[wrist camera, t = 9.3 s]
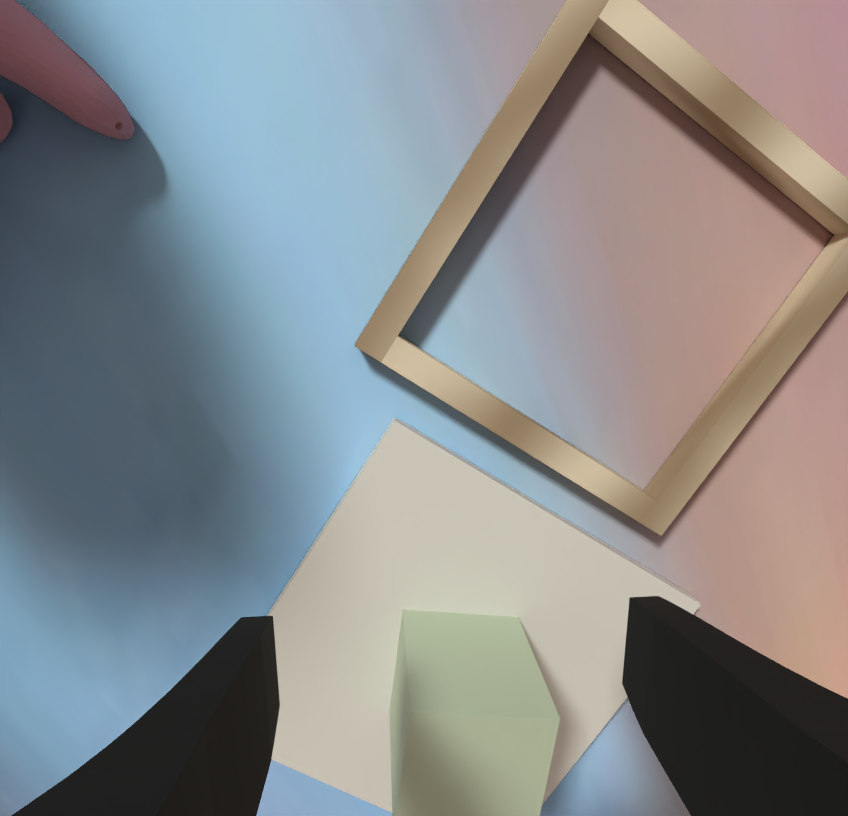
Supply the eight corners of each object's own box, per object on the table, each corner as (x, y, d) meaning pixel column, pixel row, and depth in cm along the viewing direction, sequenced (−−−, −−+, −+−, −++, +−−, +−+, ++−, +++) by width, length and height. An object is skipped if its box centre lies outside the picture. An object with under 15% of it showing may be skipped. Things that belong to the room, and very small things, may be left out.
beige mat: (692, 596, 22) (701, 604, 22) (495, 846, 24) (498, 859, 24) (394, 416, 20) (395, 421, 19) (202, 714, 22) (197, 726, 21)
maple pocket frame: (872, 226, 19) (898, 223, 18) (648, 524, 21) (661, 535, 20) (579, -21, 17) (591, -39, 16) (355, 342, 19) (354, 345, 18)
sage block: (518, 616, 21) (559, 718, 16) (500, 715, 22) (534, 839, 17) (402, 609, 21) (410, 711, 16) (389, 710, 22) (392, 836, 17)
